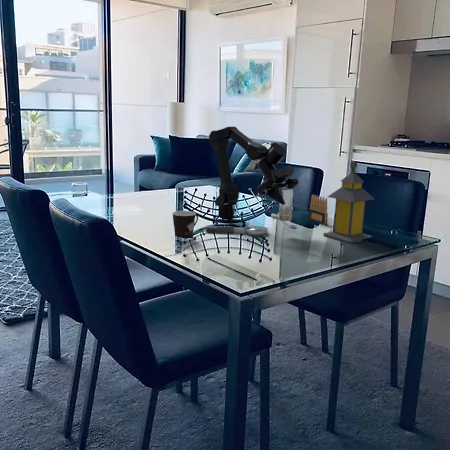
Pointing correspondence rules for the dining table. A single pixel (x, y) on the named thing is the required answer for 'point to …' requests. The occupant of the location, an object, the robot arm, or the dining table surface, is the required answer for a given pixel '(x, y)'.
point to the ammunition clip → (318, 210)
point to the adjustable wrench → (284, 221)
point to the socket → (286, 204)
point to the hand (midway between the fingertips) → (288, 203)
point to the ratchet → (239, 230)
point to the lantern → (349, 209)
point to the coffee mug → (184, 223)
